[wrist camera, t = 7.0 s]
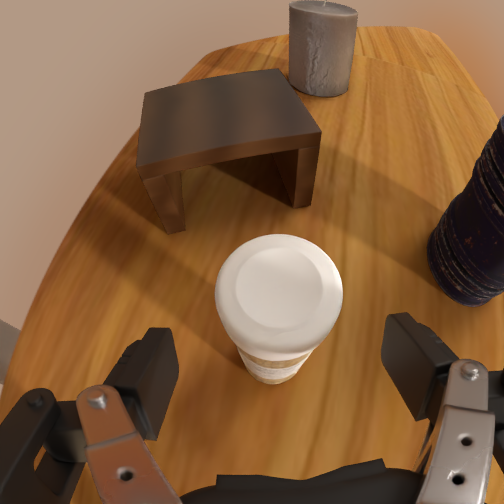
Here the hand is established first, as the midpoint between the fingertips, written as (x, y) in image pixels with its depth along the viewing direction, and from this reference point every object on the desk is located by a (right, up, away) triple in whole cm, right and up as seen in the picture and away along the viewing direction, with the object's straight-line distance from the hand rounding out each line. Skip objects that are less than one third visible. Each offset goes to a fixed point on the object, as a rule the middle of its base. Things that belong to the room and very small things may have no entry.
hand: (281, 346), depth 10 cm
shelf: (-3, +12, +21) cm, 24 cm away
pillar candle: (+9, +30, +31) cm, 44 cm away
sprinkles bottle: (+1, -5, +11) cm, 12 cm away
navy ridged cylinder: (+20, +2, +14) cm, 25 cm away
